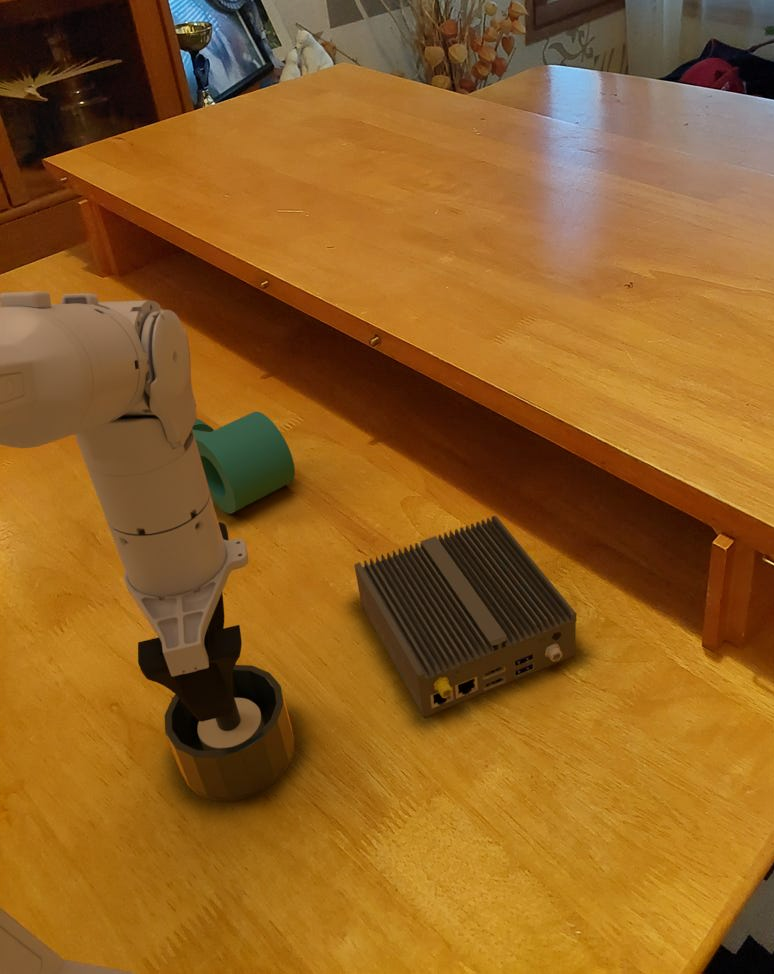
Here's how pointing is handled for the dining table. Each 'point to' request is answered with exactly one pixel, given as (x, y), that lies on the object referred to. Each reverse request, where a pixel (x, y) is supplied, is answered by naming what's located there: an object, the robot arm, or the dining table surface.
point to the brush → (231, 727)
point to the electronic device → (465, 614)
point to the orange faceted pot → (241, 765)
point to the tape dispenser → (243, 460)
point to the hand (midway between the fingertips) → (211, 669)
